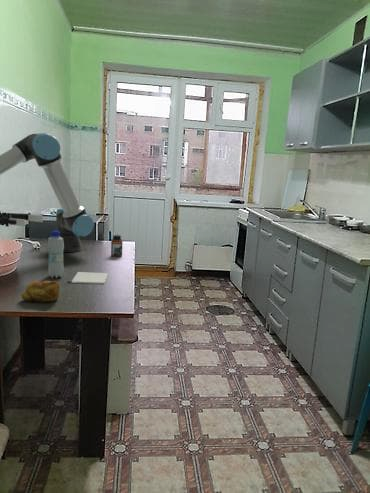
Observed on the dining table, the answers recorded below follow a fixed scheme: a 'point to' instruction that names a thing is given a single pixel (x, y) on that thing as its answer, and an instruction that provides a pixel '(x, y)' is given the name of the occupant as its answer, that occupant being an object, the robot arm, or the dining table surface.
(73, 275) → the mat
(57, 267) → the bottle
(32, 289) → the bread roll
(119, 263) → the dining table surface
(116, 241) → the supplement bottle
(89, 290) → the dining table surface
